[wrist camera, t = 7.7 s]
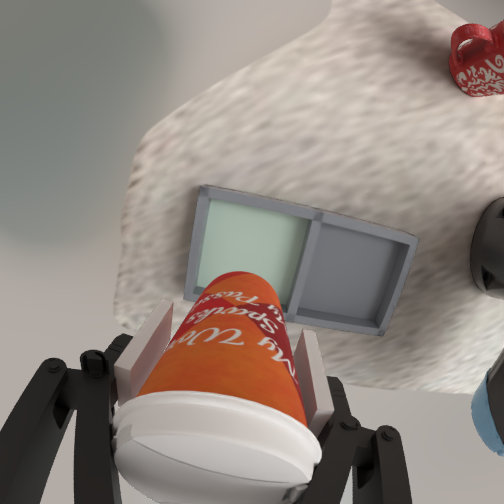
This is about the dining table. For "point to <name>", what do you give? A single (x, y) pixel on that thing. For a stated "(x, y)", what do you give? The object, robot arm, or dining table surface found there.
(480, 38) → the mug
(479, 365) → the dining table surface
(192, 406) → the paper cup
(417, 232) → the dining table surface
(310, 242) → the cup carrier
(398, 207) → the dining table surface
